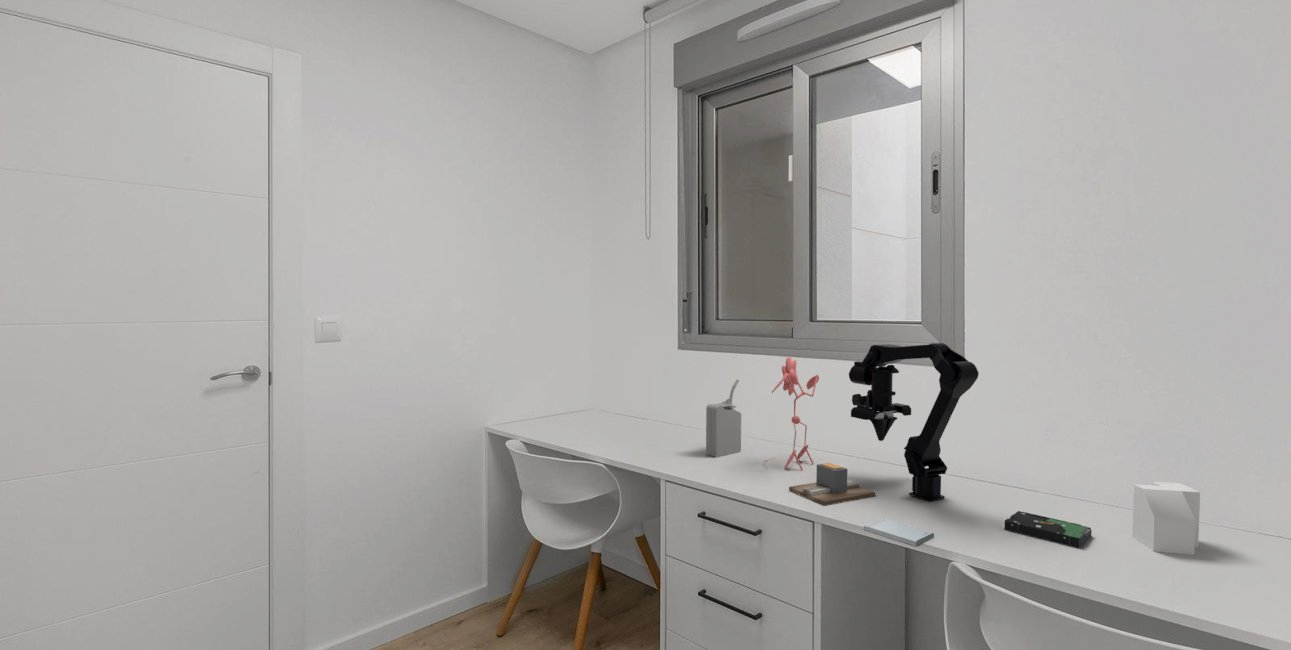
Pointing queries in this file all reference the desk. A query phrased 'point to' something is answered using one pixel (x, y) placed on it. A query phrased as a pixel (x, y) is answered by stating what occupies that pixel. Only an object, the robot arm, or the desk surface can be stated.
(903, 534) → the hard drive
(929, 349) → the robot arm
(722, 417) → the fuel canister
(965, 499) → the desk surface
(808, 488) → the mounting board
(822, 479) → the block
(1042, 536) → the disk drive
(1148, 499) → the corner bracket
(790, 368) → the pink flower figurine
